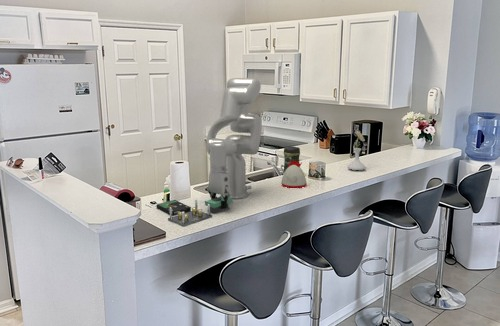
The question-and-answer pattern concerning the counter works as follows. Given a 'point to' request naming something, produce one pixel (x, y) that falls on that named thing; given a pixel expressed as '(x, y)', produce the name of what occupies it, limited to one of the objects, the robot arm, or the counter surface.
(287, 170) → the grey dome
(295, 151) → the coffee jar
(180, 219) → the chassis
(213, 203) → the board
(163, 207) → the disk drive
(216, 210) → the block
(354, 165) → the flower in vase
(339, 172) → the counter surface
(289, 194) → the counter surface
